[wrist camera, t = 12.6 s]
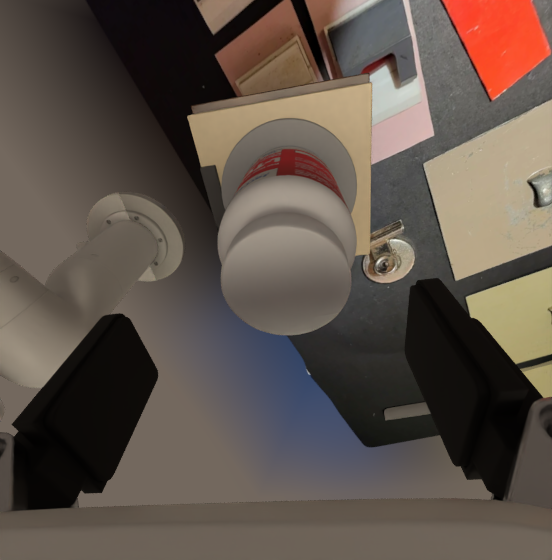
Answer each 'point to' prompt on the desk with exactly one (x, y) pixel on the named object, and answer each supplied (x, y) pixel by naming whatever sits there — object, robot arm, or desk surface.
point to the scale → (292, 144)
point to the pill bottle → (287, 244)
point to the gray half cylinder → (406, 411)
